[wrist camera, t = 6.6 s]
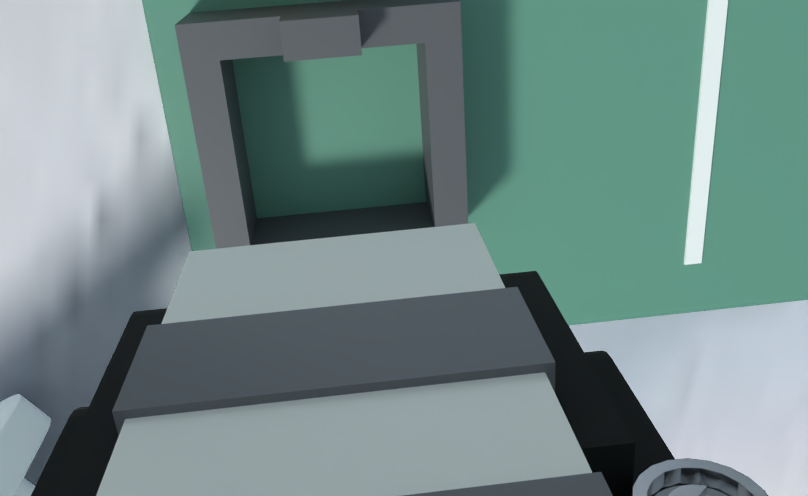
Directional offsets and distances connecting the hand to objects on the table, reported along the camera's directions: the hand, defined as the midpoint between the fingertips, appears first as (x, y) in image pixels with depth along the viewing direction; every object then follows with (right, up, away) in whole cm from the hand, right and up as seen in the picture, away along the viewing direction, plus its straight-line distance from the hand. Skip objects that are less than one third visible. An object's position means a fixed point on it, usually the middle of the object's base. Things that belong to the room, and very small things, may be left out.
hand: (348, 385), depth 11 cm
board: (+4, +7, +14) cm, 16 cm away
